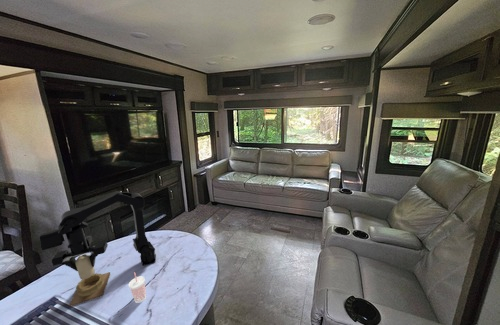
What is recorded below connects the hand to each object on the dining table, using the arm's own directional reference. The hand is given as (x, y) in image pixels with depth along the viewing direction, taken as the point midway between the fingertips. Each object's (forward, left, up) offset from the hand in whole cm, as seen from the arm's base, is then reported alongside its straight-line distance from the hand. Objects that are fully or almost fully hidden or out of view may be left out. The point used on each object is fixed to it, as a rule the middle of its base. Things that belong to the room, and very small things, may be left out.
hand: (85, 268), depth 91 cm
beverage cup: (-22, +15, -12) cm, 29 cm away
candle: (0, 0, -4) cm, 4 cm away
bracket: (0, 0, -12) cm, 12 cm away
